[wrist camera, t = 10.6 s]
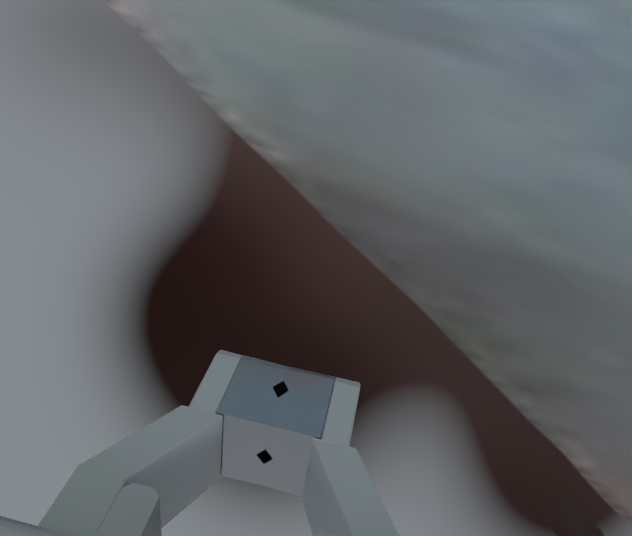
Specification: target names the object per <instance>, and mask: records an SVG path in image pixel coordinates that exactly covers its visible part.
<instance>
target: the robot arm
mask: <svg viewBox="0 0 632 536" xmlns="http://www.w3.org/2000/svg"><path fill="white" fill-rule="evenodd" d="M334 383H335V384H334ZM359 391H360V383H359V382H354V381H350V380H346V379H341V378H336V380H335V377H332V376H328V375H323V374H319V373H315V372H310V371H306V370H301V369H297V368H292V367H287V366H283V365H279V364H275V363H271V362H267V361H264V360H259V359H256V358H252V357H248V356H242V355H238V354H235V353H231V352H227V351H223V350H220V351H219V352H218V353H217V354H216V355H215V357H214V359H213V361H212V363H211V365H210V367H209V369H208V370H207V372H206V374H205V376H204V378H203V380H202V382H201V384H200V386H199V388H198V390H197V392H196V393H195V396H194V397H193V399H192V401H191V403H190V405H189V407H187V406H180V407H178V408H176V409H175V410H173V411H171V412H169V413H168V414H166V415H164V416H162V417H161V418H159V419H157V420H156V421H154V422H152V423H150V424H149V425H147V426H145V427H144V428H142V429H140V430H138V431H137V432H135V433H133V434H132V435H130V436H128V437H126V438H125V439H123V440H121V441H120V442H118V443H116V444H114V445H113V446H111V447H109V448H108V449H106V450H104V451H102V452H101V453H99V454H97V455H95V456H94V457H92V458H90V459H88V460H87V461H85V462H83V463H82V464H80V465H78V466H77V468H76V470H75V471H74V472H73V474H72V475H71V477H70V478H69V480H68V481H67V483H66V484H65V486H64V487H63V489H62V490H61V492H60V493H59V495H58V496H57V498H56V499H55V501H54V502H53V504H52V505H51V507H50V508H49V510H48V512H47V513H46V515H45V516H44V517H43V519H42V520H41V522H40V523H39V525H38V526H35V525H32V524H28V523H24V522H21V521H17V520H13V519H9V518H6V517H3V516H0V536H162V534H161V528H162V527H163V526H165V525H166V524H167V523H168V522H169V521H170V520H172V519H173V518H174V517H175V516H176V515H178V514H179V513H180V512H181V511H182V510H184V509H185V508H186V507H187V506H188V505H189V504H191V503H192V502H193V501H194V500H195V499H196V498H198V497H199V496H200V495H201V494H202V493H203V492H205V491H206V490H207V489H208V488H209V487H211V486H212V485H213V484H214V483H215V482H217V481H218V480H219V479H220V476H224V477H228V478H233V479H237V480H241V481H246V482H251V483H255V484H259V485H263V486H266V487H270V488H273V489H277V490H280V491H284V492H287V493H291V494H294V495H298V496H301V497H302V502H303V505H304V508H305V512H306V515H307V518H308V521H309V524H310V528H311V531H312V534H313V536H399V534H398V532H397V530H396V528H395V526H394V524H393V522H392V520H391V518H390V516H389V514H388V512H387V510H386V508H385V506H384V504H383V502H382V500H381V498H380V496H379V493H378V491H377V489H376V487H375V485H374V483H373V481H372V479H371V477H370V475H369V473H368V471H367V469H366V467H365V465H364V463H363V461H362V459H361V457H360V455H359V453H358V451H357V449H356V448H353V447H349V445H350V440H351V434H352V429H353V423H354V418H355V413H356V407H357V402H358V396H359Z"/></svg>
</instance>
